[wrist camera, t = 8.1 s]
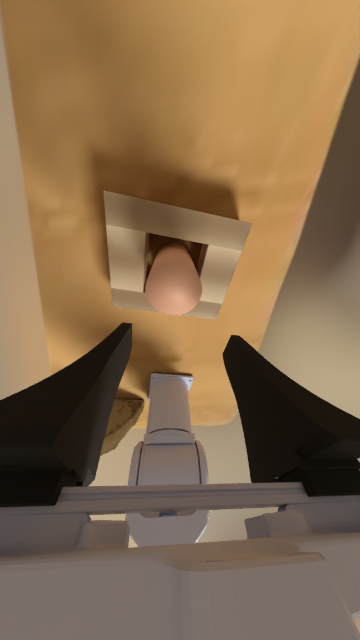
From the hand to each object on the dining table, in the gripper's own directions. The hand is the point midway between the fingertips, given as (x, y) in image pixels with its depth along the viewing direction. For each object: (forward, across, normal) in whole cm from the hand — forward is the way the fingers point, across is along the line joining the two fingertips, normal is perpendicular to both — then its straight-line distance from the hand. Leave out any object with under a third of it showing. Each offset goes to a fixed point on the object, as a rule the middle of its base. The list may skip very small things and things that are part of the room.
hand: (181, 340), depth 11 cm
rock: (+10, +8, +29) cm, 32 cm away
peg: (+10, +1, -3) cm, 10 cm away
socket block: (+10, +1, -3) cm, 10 cm away
